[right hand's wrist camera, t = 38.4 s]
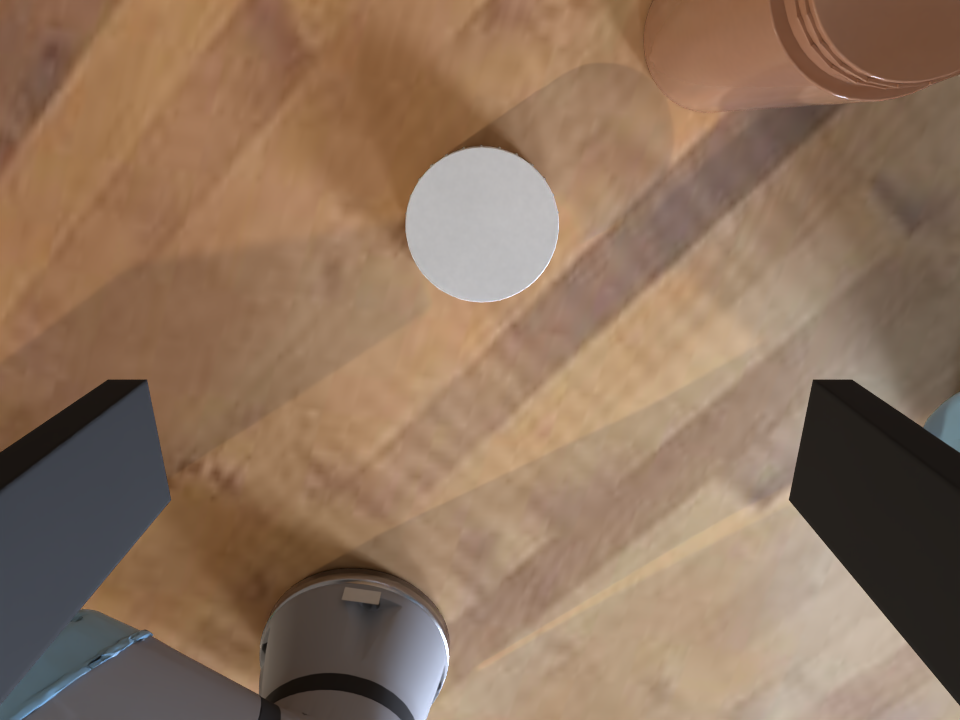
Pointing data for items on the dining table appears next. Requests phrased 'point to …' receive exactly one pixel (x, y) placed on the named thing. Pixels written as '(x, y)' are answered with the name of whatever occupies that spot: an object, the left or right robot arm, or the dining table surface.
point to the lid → (482, 224)
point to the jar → (798, 51)
